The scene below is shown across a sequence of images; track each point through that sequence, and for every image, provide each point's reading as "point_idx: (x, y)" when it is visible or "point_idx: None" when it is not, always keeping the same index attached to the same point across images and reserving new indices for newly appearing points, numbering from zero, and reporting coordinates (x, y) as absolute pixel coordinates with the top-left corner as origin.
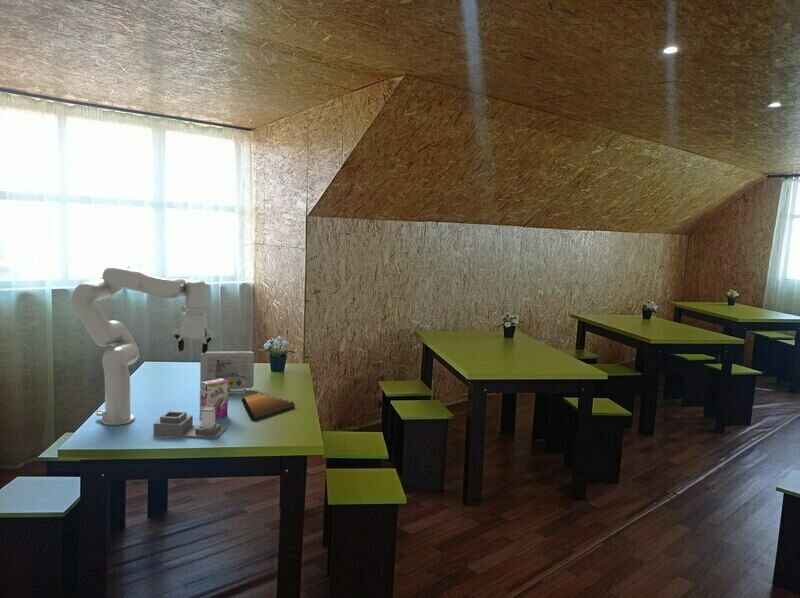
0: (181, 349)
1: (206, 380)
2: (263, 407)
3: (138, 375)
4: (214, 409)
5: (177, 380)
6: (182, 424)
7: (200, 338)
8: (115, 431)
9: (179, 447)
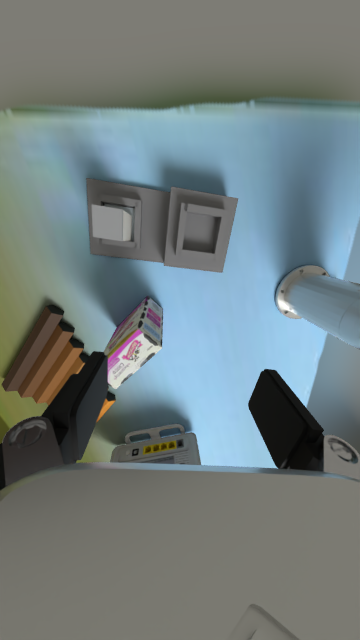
0: (263, 383)
1: (187, 447)
2: (47, 354)
3: None
4: (94, 229)
5: (236, 463)
6: (170, 195)
7: (40, 476)
8: (301, 231)
9: (155, 112)
